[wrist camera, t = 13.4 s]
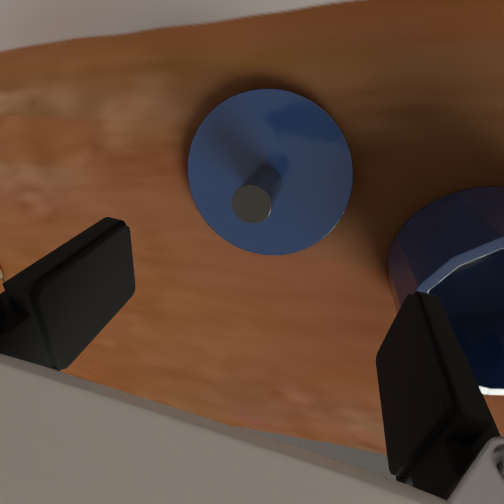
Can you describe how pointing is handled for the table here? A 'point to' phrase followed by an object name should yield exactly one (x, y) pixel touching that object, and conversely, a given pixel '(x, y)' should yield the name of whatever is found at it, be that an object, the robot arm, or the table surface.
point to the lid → (270, 171)
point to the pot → (459, 273)
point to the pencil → (1, 274)
